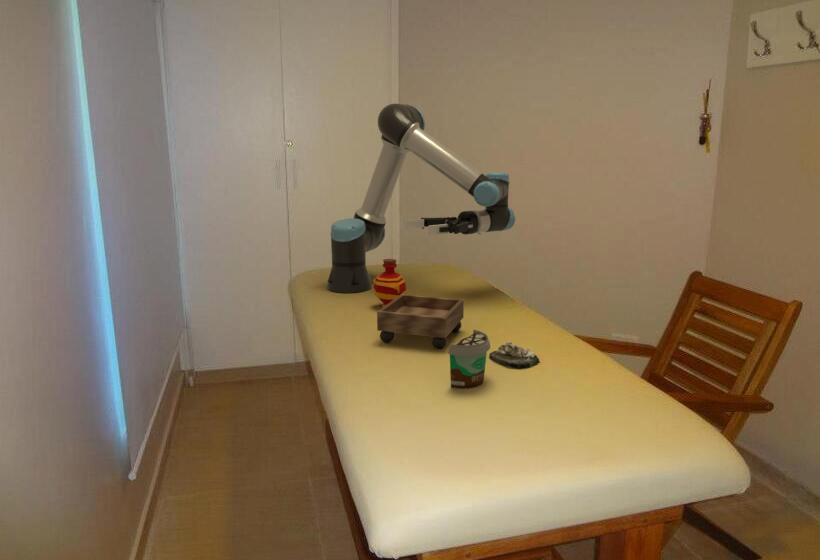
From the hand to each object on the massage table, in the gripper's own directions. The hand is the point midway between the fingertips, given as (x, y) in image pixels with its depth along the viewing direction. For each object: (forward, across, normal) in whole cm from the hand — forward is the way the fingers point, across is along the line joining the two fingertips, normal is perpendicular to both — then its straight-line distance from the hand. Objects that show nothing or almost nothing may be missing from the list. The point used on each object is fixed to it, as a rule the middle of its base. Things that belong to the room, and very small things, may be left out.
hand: (417, 227), depth 185 cm
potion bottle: (+10, 0, -24) cm, 26 cm away
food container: (+22, -60, -25) cm, 68 cm away
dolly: (+16, -28, -24) cm, 41 cm away
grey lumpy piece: (+6, -54, -25) cm, 60 cm away
